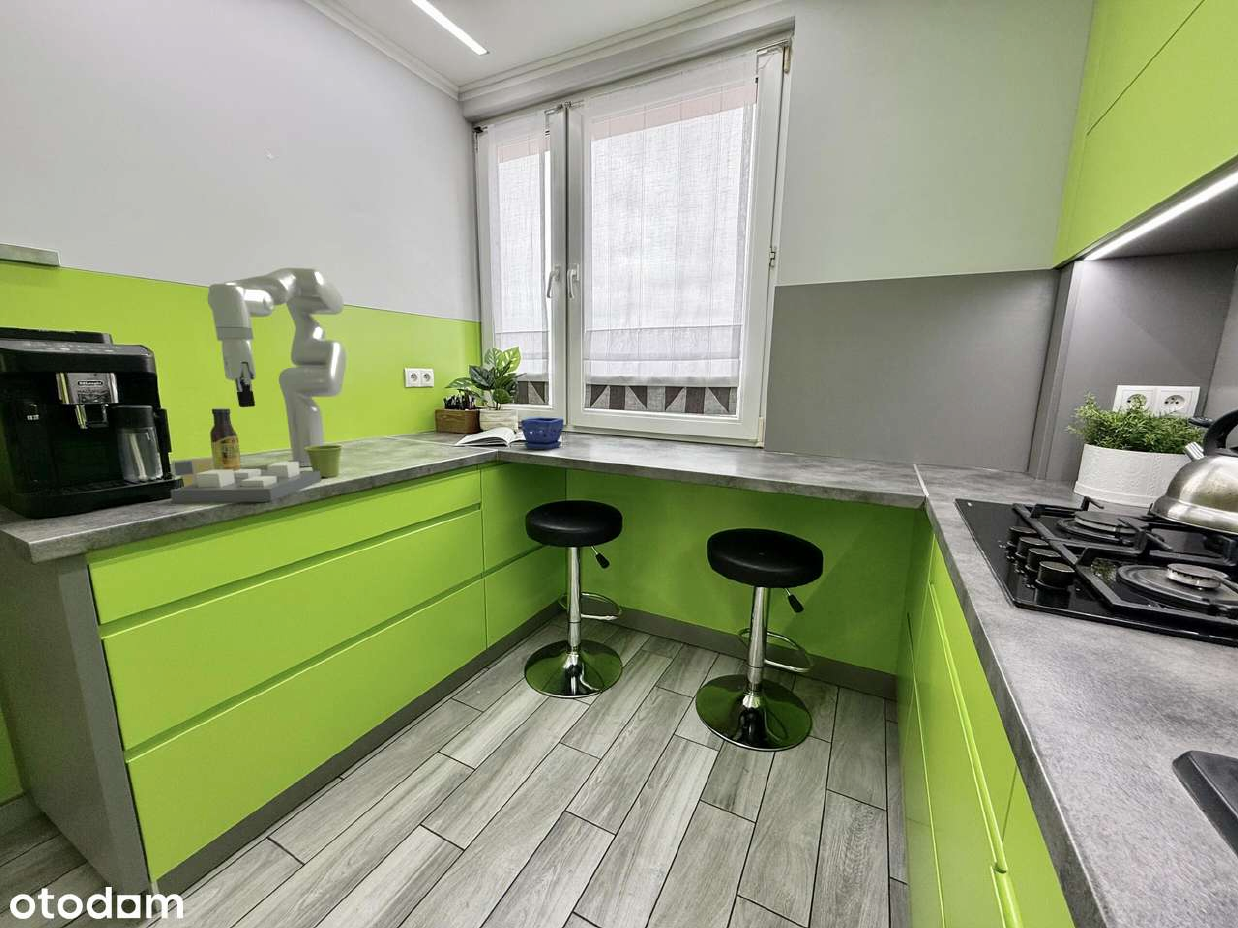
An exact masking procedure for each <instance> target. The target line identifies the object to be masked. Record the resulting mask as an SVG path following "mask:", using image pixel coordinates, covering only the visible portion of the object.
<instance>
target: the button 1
mask: <svg viewBox="0 0 1238 928" xmlns="http://www.w3.org/2000/svg"><path fill="white" fill-rule="evenodd" d="M196 477H197V483H198V487H223V486H226V485H229V484H232V483H235V479H234V472H233V470H209V471H205V472H201V473H197V474H196Z"/></svg>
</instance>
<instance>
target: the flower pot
mask: <svg viewBox="0 0 1238 928" xmlns="http://www.w3.org/2000/svg"><path fill="white" fill-rule="evenodd" d="M520 422H521V424H520V425H521V430H522V433H523V436H524V438H525V441H526V442H525V443H524V446H525V447H526V448H527V449H534V450H543V449H544V450H545V451H548V450H552V449H555V448H559V447H560V446H561V444H562V443H563V442H562V441H559V440H560V438H561V435H562V433H563V427H564V418H560V417H529V418H524V419H521V421H520Z"/></svg>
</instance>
